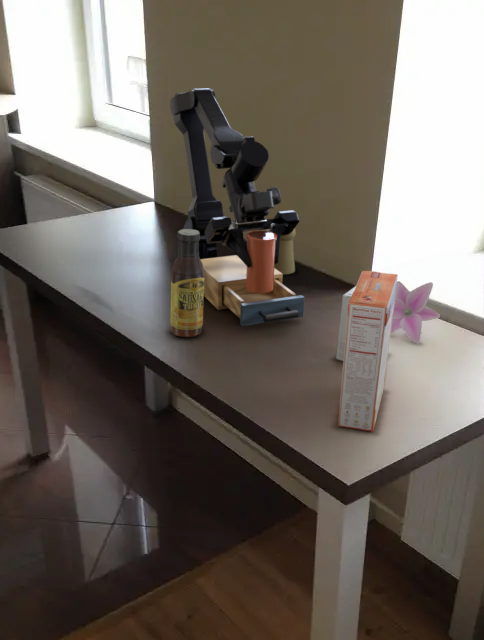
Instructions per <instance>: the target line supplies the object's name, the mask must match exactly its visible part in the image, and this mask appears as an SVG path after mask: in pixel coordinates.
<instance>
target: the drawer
mask: <svg viewBox="0 0 484 640" xmlns="http://www.w3.org/2000/svg"><path fill="white" fill-rule="evenodd" d="M222 302H223V303H224V304H225V305H226V306H227V307H228V310H230V311H231V312H232V313H233V314H234V315H235V316H236V317H237V318H238V319H239V325H241V327H246V326H252V325H259V324H265V323H272V322H279V321H285V320H292V319H297V318H303V317H304V312H305V311H304V309H305V296H304V295H302V294H300V295H296V293H295V292H294V291H292V290H291V289H290V288H288V287H287V286H286V285H284V284H283V282H282V283H280V282H279V281H278V280H276V279H274V284H273V290H272V291H270V292H267V293H254V292H250V291H248V290H247V289H246V282H244V283H236V284H229V285H222Z"/></svg>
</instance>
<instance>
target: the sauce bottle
mask: <svg viewBox="0 0 484 640" xmlns="http://www.w3.org/2000/svg"><path fill="white" fill-rule="evenodd" d="M176 238H177V241H178V248H177V249H178V250H177V257H176V258H175V260H174V261H173V265H172V267H171V279H170V319H169V321H170V325H171V326H170V331H171V333H172V334H173V335H174V336H176V337H181V338H193V337H196V336H198V335H199V336H200V334H201V333H202V328H203V324H204V298H205V296H204V272H203V264H202V262H201V260H200V258H199V252H198V247H199V240H200V232H199V231H197V230H193V229H183V228H182V229H179V230H178V231H177V236H176Z"/></svg>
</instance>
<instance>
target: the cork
mask: <svg viewBox="0 0 484 640" xmlns="http://www.w3.org/2000/svg"><path fill="white" fill-rule="evenodd" d="M296 233H297V231H296V227H295V228H294V230H293V231H292V232H291V234H288V235H282V236H281V238H280V245H279V262H278V263H277V264H275V265H274V268H275V269H277V270H278V271H279V272H281V273H282V274H283V275H291V274H294V273H295V272H296V265H295V252H294V239H295V236H296Z"/></svg>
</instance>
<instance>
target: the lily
mask: <svg viewBox="0 0 484 640" xmlns="http://www.w3.org/2000/svg"><path fill="white" fill-rule="evenodd" d="M433 287H434V282H430V281H429V282H426V283H424V284H421V285H420V286H417V287H416V288H414V289H412V290H411V291H410V290H409V289H408V288H407V287H406V286H405V284H404V283H402V282H401V281H399V280H397V286H396V295H395V303H394V311H393V319H392V327H391V334H393V333H396V332H397V331H399V330H401V329H402V331H403V332H404V334H405V335H407V337H408V338H409V339H410V340H411V341H412V342H413V343H415V344H417V345H418V344H419V343H420V341H421V335H422V327H423V322H425V321H431V320H436V319H439V318H440V317H441V315H440V314H439V313H438V311H435V310H434V309H432V308H431V307H429V306H427V303H428V301H429V299H430V296H431V293H432V290H433Z"/></svg>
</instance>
